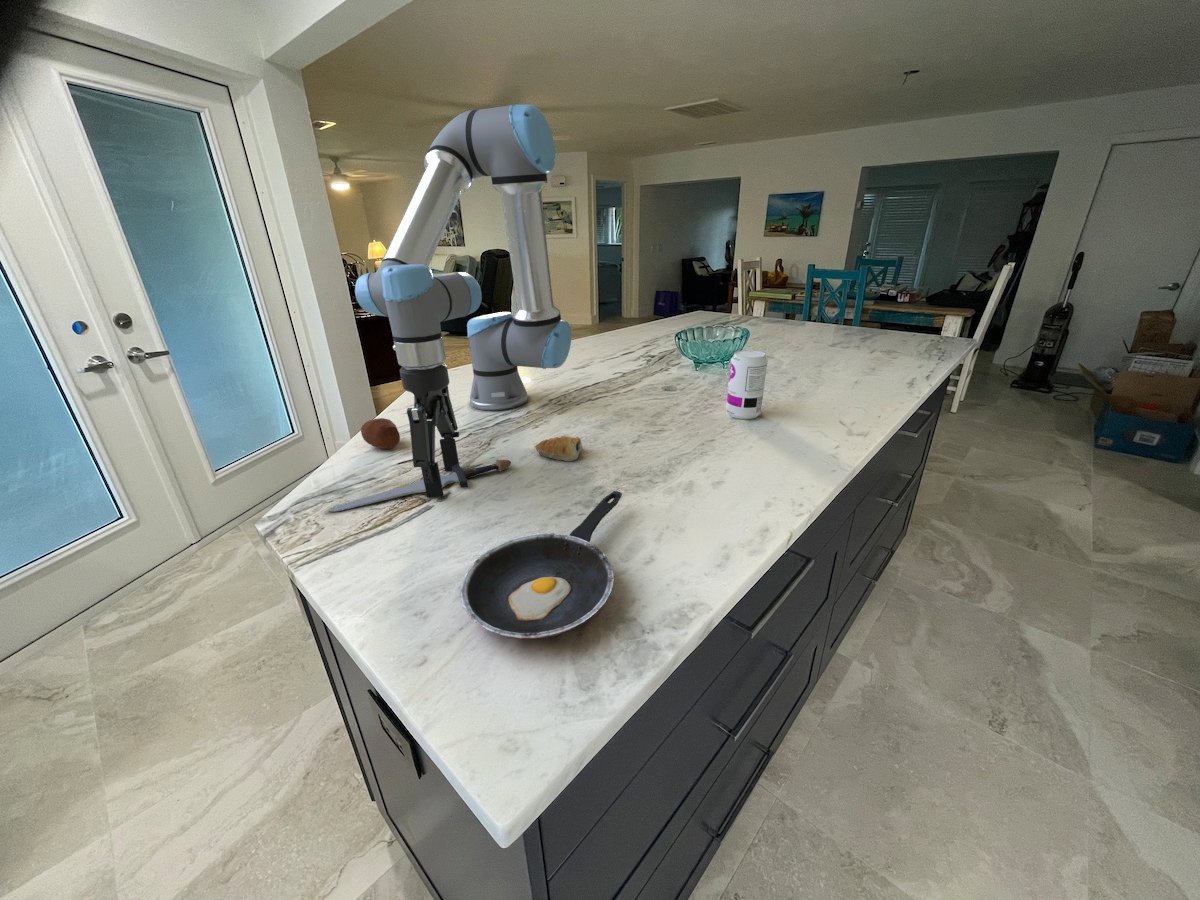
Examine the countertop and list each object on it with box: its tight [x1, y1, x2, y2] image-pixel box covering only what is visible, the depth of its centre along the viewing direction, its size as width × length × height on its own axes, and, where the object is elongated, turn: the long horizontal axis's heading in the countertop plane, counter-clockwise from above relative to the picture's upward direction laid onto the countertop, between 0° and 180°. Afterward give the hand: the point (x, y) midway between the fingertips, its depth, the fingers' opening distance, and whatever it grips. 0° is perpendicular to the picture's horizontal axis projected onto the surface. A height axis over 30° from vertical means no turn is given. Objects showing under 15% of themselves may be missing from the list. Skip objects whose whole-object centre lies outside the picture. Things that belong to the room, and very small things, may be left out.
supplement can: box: [725, 349, 769, 420], centre depth 112 cm, size 8×8×15 cm
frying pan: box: [459, 490, 623, 640], centre depth 64 cm, size 19×32×4 cm, turn 152°
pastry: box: [535, 435, 583, 462], centre depth 96 cm, size 9×7×4 cm
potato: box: [360, 417, 401, 450], centre depth 102 cm, size 7×9×6 cm
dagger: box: [327, 459, 512, 513], centre depth 84 cm, size 8×32×2 cm, turn 125°
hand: (444, 482), depth 87 cm, fingers open, 9 cm apart
